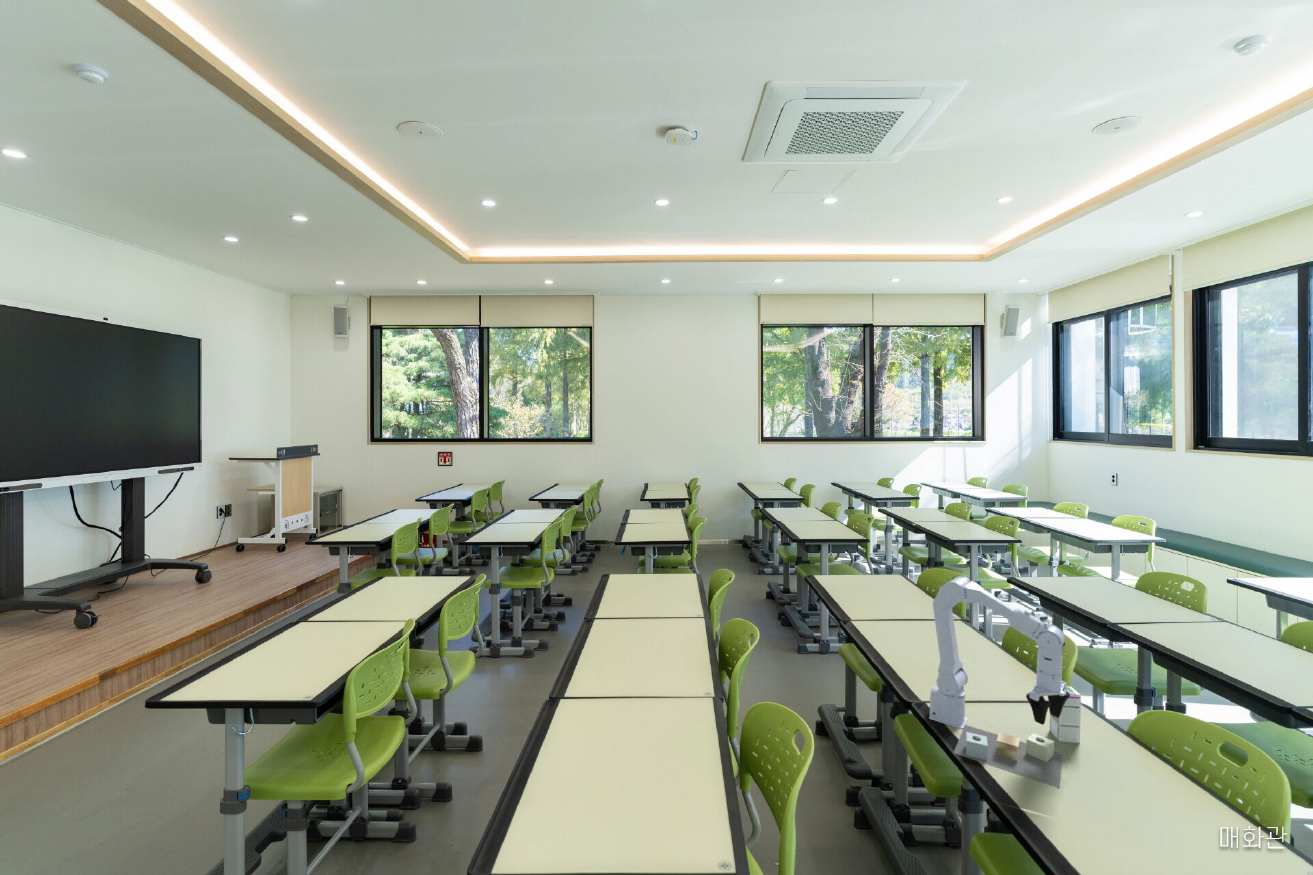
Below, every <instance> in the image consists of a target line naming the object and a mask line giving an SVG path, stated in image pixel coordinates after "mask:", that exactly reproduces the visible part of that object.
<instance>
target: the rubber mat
mask: <svg viewBox="0 0 1313 875" xmlns="http://www.w3.org/2000/svg"><path fill="white" fill-rule="evenodd" d="M966 732H969V733H974V734H978V735H982V736H986V737H987V744H988V752H987V760H984V759H980V758H976V757H972V756H968V755H966ZM998 735H999V734H997V733H994V732H992V731H991V732H990V731H988V730H984V729H980V728H976V727H974V726H970V725H967V724H965V726H964V729H962V732H961V734H960V736H959V738H958V741H957V743H956V746H955V748H954V751H953V754H956V755H958V756H961V757H964V758H967V759H970V760H974V761H976V762H978V763H979V762H980V763H983V764H986V765H988V766H991V767H994V768H998V769H999V770H1004V771H1007V772H1009V773H1012V774H1015V775H1018V776H1020V777H1021V776H1022V777H1024V778H1027V779H1031V780H1033V781H1037V782H1039V783H1043V784H1045V785H1048V786H1051V787H1054V788H1057V789H1060V788H1061V776H1062V765H1063V753H1060V752H1056V751H1054V756H1053V757H1052V758H1051V759H1050V760H1049V761H1048V762H1045V761H1043V760H1040V759H1038V758H1036V757H1033V756H1031V755H1029V754H1026V742H1023V741H1020V753H1019V758H1018V761H1015V760H1012V759H1009V758H1006V757H1003V756H999V755H996V749H997V738H998Z"/></svg>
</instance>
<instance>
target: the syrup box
mask: <svg viewBox="0 0 1313 875" xmlns="http://www.w3.org/2000/svg"><path fill="white" fill-rule="evenodd" d="M1064 691H1066V692H1068V693H1070V697H1069V698H1068V699H1067V700H1066V702H1065V704H1064V706H1063V709H1062V712H1061V714H1060V717H1059V718H1057V717H1055V716H1053V715H1051V714H1050V713H1049V731H1050V732H1051V734H1052V736H1054V738H1056V740H1057V741H1059V742H1066V743H1076V744H1080V743H1081V708H1082V707H1081V706H1082V705H1081V701H1082V698H1081V697H1082V695H1081V694H1080V693H1079V692H1078V691H1077V690H1075V689H1074V688H1073V686H1071V685H1067V686H1066V690H1064Z"/></svg>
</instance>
